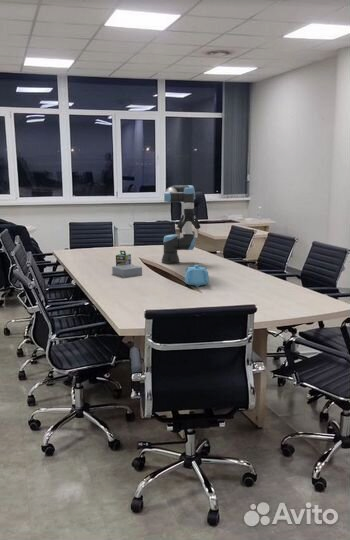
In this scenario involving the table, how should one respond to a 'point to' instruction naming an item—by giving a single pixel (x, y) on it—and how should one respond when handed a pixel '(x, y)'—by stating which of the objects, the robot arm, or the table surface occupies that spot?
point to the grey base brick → (127, 270)
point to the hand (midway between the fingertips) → (188, 237)
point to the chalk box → (123, 259)
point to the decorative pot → (196, 276)
